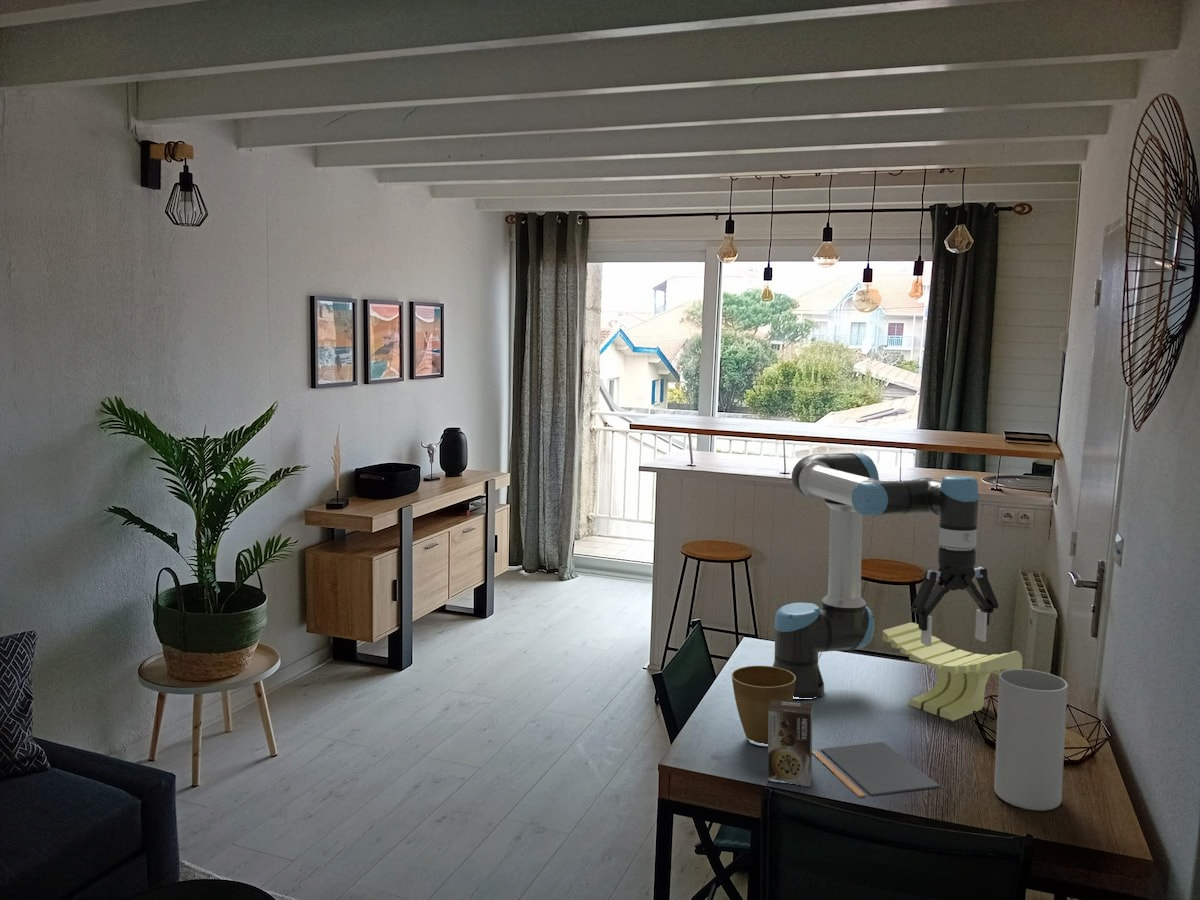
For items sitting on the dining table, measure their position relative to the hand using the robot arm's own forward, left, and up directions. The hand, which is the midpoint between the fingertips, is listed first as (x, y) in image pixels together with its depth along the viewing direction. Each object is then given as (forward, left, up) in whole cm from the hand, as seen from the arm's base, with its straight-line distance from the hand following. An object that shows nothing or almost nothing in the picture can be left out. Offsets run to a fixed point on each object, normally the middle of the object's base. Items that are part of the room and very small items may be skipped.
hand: (953, 642), depth 195 cm
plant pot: (-21, -35, -28) cm, 50 cm away
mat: (-2, -16, -28) cm, 32 cm away
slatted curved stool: (-30, +21, -28) cm, 46 cm away
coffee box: (-2, -37, -28) cm, 47 cm away
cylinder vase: (+17, +7, -28) cm, 34 cm away
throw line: (-2, -26, -28) cm, 38 cm away
